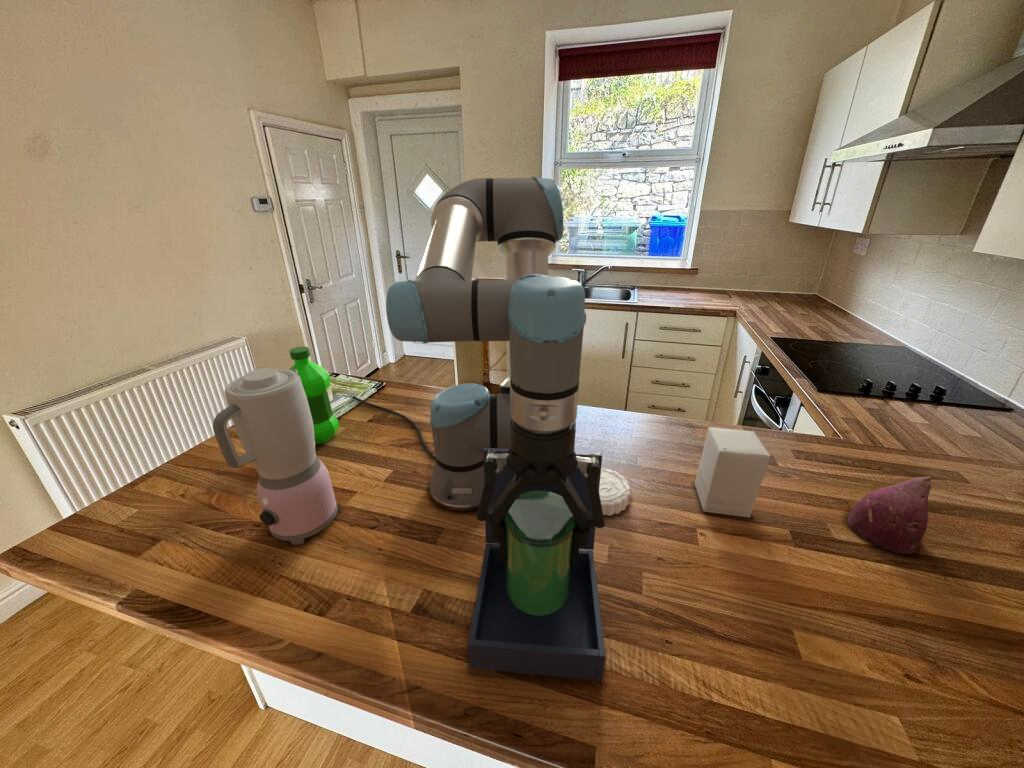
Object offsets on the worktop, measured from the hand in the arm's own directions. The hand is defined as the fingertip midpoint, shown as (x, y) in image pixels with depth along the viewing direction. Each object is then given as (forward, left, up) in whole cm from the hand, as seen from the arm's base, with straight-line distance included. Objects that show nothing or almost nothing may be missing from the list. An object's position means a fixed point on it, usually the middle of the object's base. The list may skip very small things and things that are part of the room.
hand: (538, 556), depth 56 cm
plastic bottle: (-68, -28, -13) cm, 74 cm away
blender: (-36, -33, -13) cm, 50 cm away
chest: (0, 0, -13) cm, 13 cm away
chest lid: (-7, +4, +2) cm, 9 cm away
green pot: (0, 0, -6) cm, 6 cm away
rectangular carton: (-6, +47, -13) cm, 49 cm away
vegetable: (+13, +67, -13) cm, 69 cm away
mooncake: (-18, +25, -13) cm, 33 cm away
